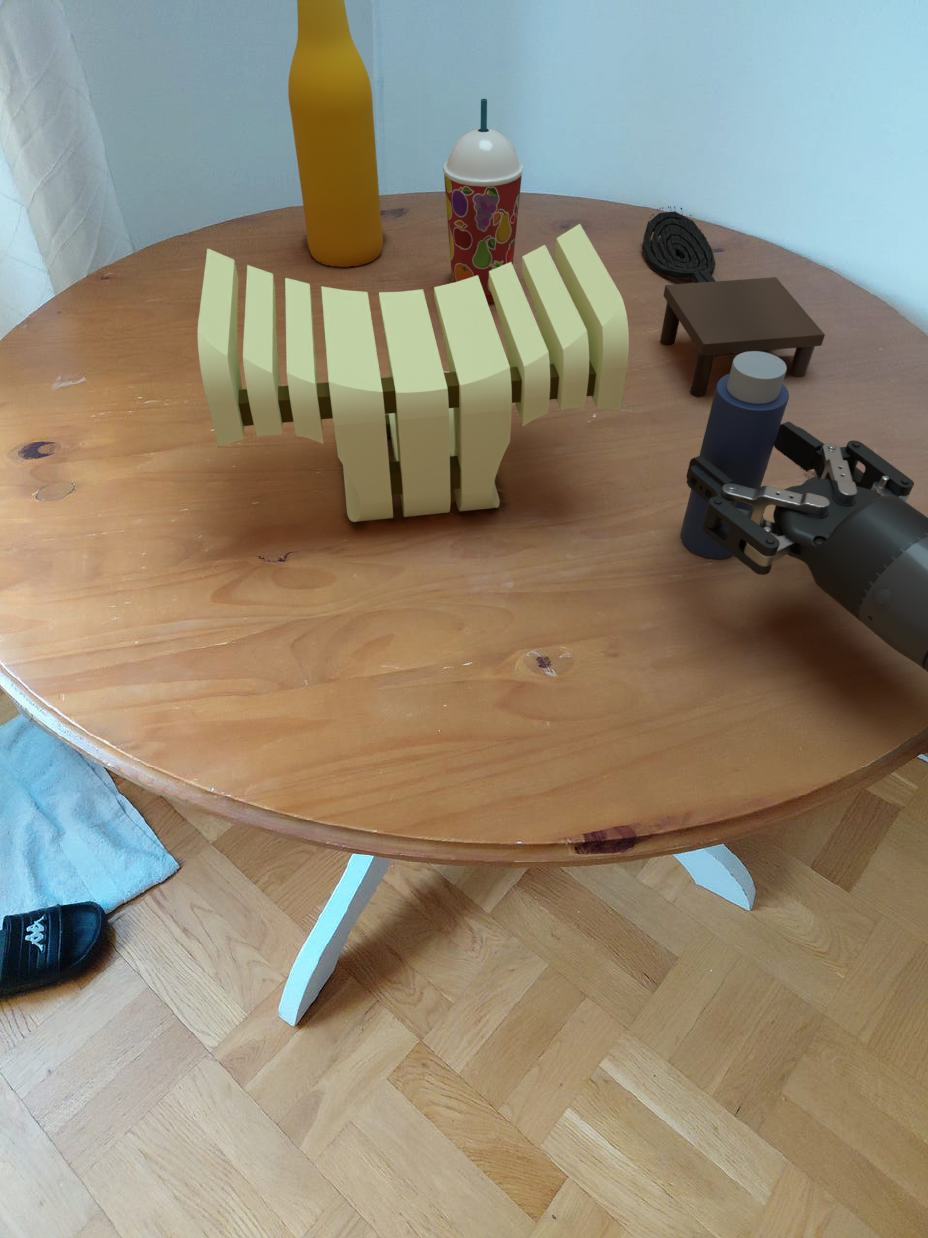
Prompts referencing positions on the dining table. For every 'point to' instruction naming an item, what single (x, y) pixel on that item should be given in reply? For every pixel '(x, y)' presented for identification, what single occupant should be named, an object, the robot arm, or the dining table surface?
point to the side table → (738, 322)
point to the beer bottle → (334, 138)
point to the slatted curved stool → (417, 371)
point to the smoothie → (482, 202)
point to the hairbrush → (678, 248)
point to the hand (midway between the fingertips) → (736, 449)
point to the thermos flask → (739, 436)
